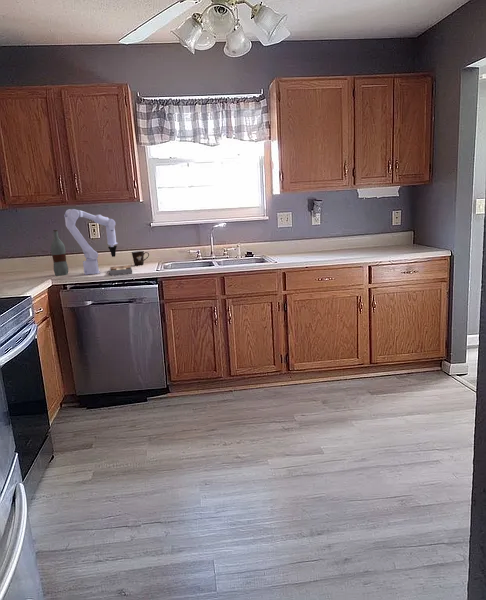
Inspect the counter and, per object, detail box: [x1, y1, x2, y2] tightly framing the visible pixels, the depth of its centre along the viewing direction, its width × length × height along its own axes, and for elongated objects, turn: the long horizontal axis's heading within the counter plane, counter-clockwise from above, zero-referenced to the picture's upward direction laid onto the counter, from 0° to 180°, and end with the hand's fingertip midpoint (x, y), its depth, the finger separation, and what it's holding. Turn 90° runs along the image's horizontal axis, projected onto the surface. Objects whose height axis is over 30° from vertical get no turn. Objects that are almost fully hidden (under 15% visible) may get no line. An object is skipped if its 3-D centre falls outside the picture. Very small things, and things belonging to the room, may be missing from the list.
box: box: [109, 266, 133, 276], centre depth 303 cm, size 14×10×3 cm
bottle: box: [50, 229, 69, 277], centre depth 309 cm, size 9×9×30 cm
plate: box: [109, 264, 132, 271], centre depth 314 cm, size 14×12×2 cm
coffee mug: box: [131, 250, 150, 267], centre depth 337 cm, size 12×9×10 cm
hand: (113, 256), depth 316 cm, fingers closed
